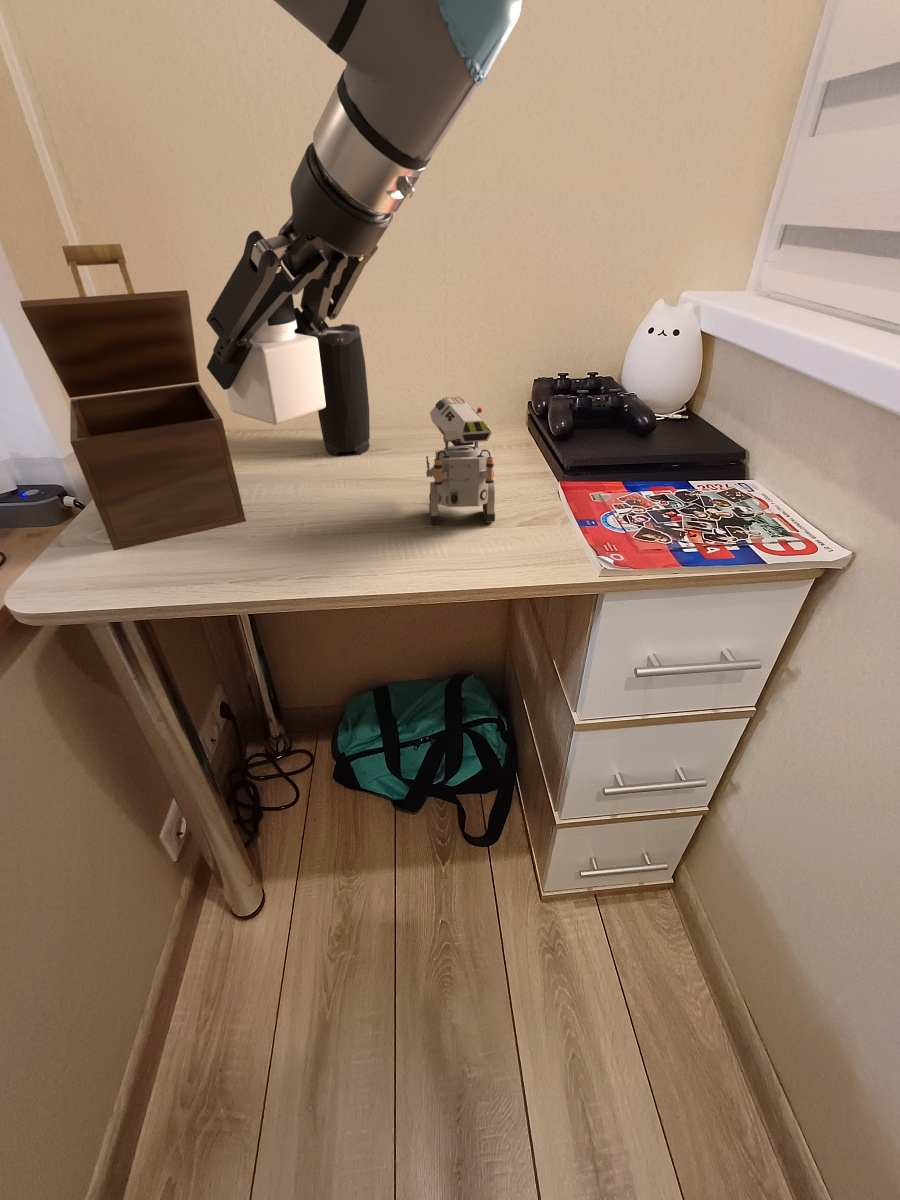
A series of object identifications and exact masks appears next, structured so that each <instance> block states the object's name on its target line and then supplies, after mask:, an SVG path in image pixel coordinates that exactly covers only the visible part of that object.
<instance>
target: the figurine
mask: <svg viewBox="0 0 900 1200" xmlns="http://www.w3.org/2000/svg"><path fill="white" fill-rule="evenodd" d="M476 411H477V412H476ZM476 411H475V409H473V408H472V407H471V406H470V405H469V404H468V403H467V402H466V401H465V400H464V399H463V398H462V397H461V396H446V397H443V398H442V399H440V400H438V401H437V402H436V403H435V405H434V408H432V409H431V410H430V412H429V415H430V419H431V421H432V423H433V424H434V426H435V427H436V428H437V430H438V431H439V432H440V433H441V435H442V436H443V437H442V439H443V444H444V448H443V449H440V450H435V458H434V459H433V460H434V461H433V465H432V467H431V464H430V462H429V456H428V455H426V457H425V459H426V469H427V470H426V472H425V473H426V474H425V475H426V477H427V478H432V479H434V480H433V481H431V482H429V503H428V507H429V508H428V509H429V522H430V524H431V525H438V524H440V512H439V505H441V506H444V507H448V508H453V507H454V508H462V507H481V506H482V510H483V515H484V518H485V521H486V523H494V522H496V513H495V503H496V501H495V500H496V490H495V487H496V486H495V480H494V477H495V470H494V467H495V463H494V462H495V461H494V457H492V456H491V452H490V450H488V449H481V448H480V447H479V443H482V442H488V441H489V439H490V437H491V436H492V431H491V430H490V427H489V426H488V425H487V424H486V423H485V421H484V420H483V419H482V418H481V416H479V414H480V413H482V412H483V408H482V407H478V408H477V410H476ZM449 443H451V444H452V445H449Z"/></svg>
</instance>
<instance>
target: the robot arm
mask: <svg viewBox="0 0 900 1200" xmlns="http://www.w3.org/2000/svg"><path fill="white" fill-rule="evenodd" d="M273 1H274V2H275V3H276V4H277V5H279V7H281V8H282V9H283V10H285V12H287V13H288V14H289V15H290V16H291V17H293V18H294V19H295V20H296V21H298V23H300V24H301V25H302V26H303V27H304V28H305V29H307V30H308V31H309V32H310V33H311V34H312V35H314V36H315V37H316V38H318V39H319V40H320V41H321V42H322V43H324V44H325V45H326V47H327V48H328V49H329V50H330V51H332V53H334V54H335V55H337V56H339V58H341V59H342V60H343V61H345V62H346V65H345V68H344V69H343V71H342V73H341V75H340V77H339V80H338V82H337V83H336V85H335V87H334V89H333V91H332V93H331V95H330V97H329V100H328V101H327V103H326V105H325V108H324V110H323V112H322V114H321V116H320V118H319V119H318V122H317V124H316V126H315V127H314V130H313V134H312V142H311V143H309V145H308V146H307V147H306V150H305V152H304V154H303V157H302V158H301V160H300V163H299V164H298V166H297V168H296V169H297V170H296V171H295V173H294V176H293V177H292V180H291V182H290V187H289V188H290V200H291V207H292V208H291V209H292V210H291V211H292V213H291V216H290V217H289V218H288V220H287V221H286V222H285V223H284V224H283V225H282V226H281V227H280V229H279V231H278V234H277V235H276V236H273V237H270V238H265V237H264V236H263V234H262V233H261V232H260V231H259V230H253V231H252V232H250V233H249V235H248V236H247V237H246V241H245V245H244V249H243V253H242V256H241V258H240V260H239V261H238V263H237V265H236V266H235V268H234V270H233V271H232V273H231V275H230V277H229V279H228V281H227V282H226V283H225V286H224V287H223V289H222V291H221V293H220V294H219V296H218V297H217V299H216V301H215V303H214V305H213V306H212V308H211V310H210V311H209V313H208V315H207V317H206V318H205V319H206V322H207V324H208V325H209V326H210V328H211V329H212V330H213V331H214V333H215V334H216V336H217V337H218V339H217V341H216V342H215V345H214V346H213V349H212V352H213V353H212V355H211V356H210V358H209V361H208V363H207V365H206V369H207V370H208V371H209V373H210V374H211V375H212V376H213V378H214V379H215V381H216V382H217V384H219V386H220V387H221V388H222V390H223V391H225V390H226V391H227V389H229V388H230V387H231V385H232V383H233V382H234V380H235V378H236V376H237V374H238V372H239V370H240V368H241V367H242V365H243V363H244V361H245V359H246V357H247V355H248V353H249V352H250V350H251V348H252V346H253V345H252V343H251V342H250V341H249V340H250V339H251V337H252V336H253V335H254V334H255V333H256V332H257V331H258V330H259V328H260V327H261V326H262V325H263V324H264V323H265V322H266V321H267V319H268V318H269V317H270V316H271V315H272V314H273V313H274V312H275V310H276V309H277V308H278V307H279V306H280V305H281V304H282V303H283V301H284V300H285V299H286V298H287V297H288V296H289V295H290V294H292V295H294V296H295V295H299V294H300V293H301V291H302V295H301V299H300V300H301V301H300V308H299V307H294V309H295V317H296V324H297V328H296V329H295V330H294V333H297V334H302V335H308V336H311V334H312V333H313V331H314V328H315V327H316V329H317V330H318V331H319V333H320V334H322V333H324V332H326V331H327V330H328V328H329V327H330V326H329V325H328V323H327V322H326V318H328V319H329V320H330V321H333V320H336V319H337V318H338V317H339V315H340V313H341V311H342V310H343V307H344V305H345V304H346V302H347V300H348V298H349V297H350V294H351V293H352V291H353V289H354V287H355V285H356V283H357V281H358V280H359V277H360V276H361V274H362V272H363V270H364V268H365V266H366V265H367V264H368V263H369V261H370V260H371V259H372V258H373V256H374V255H375V254H376V253H377V251H378V250H379V246H378V243H379V242H380V240H381V239H382V237H383V235H384V234H385V232H387V229H388V227H390V224H391V223H392V222H393V219H394V218H393V217H394V213H397V211H398V210H400V208H401V207H402V205H403V203H404V202H405V200H409V199H410V198H412V197H413V196H414V193H415V187H414V186H415V185H416V183H417V181H418V180H419V178H420V177H421V175H422V173H423V172H424V170H425V169H426V167H427V166H428V164H429V163H430V161H431V159H432V157H433V156H434V155H435V153H436V151H437V150H438V148H439V147H440V146H441V144H442V142H443V141H444V139H445V138H446V136H447V135H448V134H449V132H450V131H451V129H452V128H453V126H454V124H455V123H456V122H457V120H458V119H459V117H460V116H461V114H462V112H463V111H464V110H465V108H466V107H467V106H468V104H469V102H470V101H471V99H472V98H473V97H474V95H475V93H476V92H477V91H478V89H479V87H480V86H482V85H483V84H484V83H485V82H486V80H487V77H488V74H489V72H490V70H491V68H492V67H493V65H494V63H495V61H496V60H497V58H498V56H499V54H500V52H501V51H502V50H503V48H504V45H505V44H506V42H507V40H508V39H509V37H510V35H511V33H512V31H513V29H514V28H515V26H516V24H517V22H518V20H519V17H520V15H521V11H522V10H521V9H522V2H523V0H273ZM282 263H283V264H282ZM283 265H284V266H283ZM292 277H293V278H292ZM300 309H302V310H300Z"/></svg>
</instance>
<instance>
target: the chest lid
mask: <svg viewBox="0 0 900 1200" xmlns="http://www.w3.org/2000/svg"><path fill="white" fill-rule="evenodd" d="M61 248H62V252H63V255H64V258H65V260H66V263H67V266H68V267H69V268H70V269H69V270H70V272H71V276H72V278H73V282H74V284H75V288H76V291H77V295H78V296H76V297H61V298H45V299H44V298H43V299H30V300H29V299H27V300H19V304H20V308H21V310H22V311H23V313H24V315H25V317H26V319H27V321H28V322H29V325H30V326H31V328H32V330H33V332H34V334H35V335H36V338H37V339H38V342H39V344H40V345H41V348H42V349H43V351H44V352H45V354H46V356H47V359H48V360H49V362H50V364H51V366H52V368H53V369H54V371H55V373H56V375H57V377H58V379H59V381H60V383H61V384H62V387H63V388H64V390H65V392H66V394H67V396H68V398H69V399H76V398H84V397H92V396H100V395H108V394H116V393H124V392H132V391H140V390H148V389H156V388H164V387H172V386H180V385H188V384H196V383H200V376H199V369H198V360H197V352H196V343H195V335H194V326H193V319H192V311H191V309H192V308H191V302H190V295H189V292H188V290H187V289H184V290H183V289H181V290H169V291H168V290H167V291H166V290H165V291H154V292H153V291H151V292H138V293H135V290H134V287H133V283H132V280H131V277H130V273H129V270H128V268H127V261H126V258H125V254H124V249H123V246H122V244H121V243H104V244H103V243H101V244H77V245H76V244H75V245H73V244H71V245H62V246H61ZM107 265H118V267H119V271H120V273H121V277H122V279H123V282H124V286H125V289H126V292H127V293H122V294H121V293H120V294H107V295H105V294H104V295H90V296H89V295H88V296H87V293H86V290H85V287H84V284H83V281H82V277H81V275H80V271H79V269H78V267H84V266H87V267H88V266H107Z"/></svg>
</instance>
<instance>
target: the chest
mask: <svg viewBox="0 0 900 1200" xmlns="http://www.w3.org/2000/svg"><path fill="white" fill-rule="evenodd" d="M69 399H70V400H69V402H70V403H69V405H70V407H69V408H70V410H69V411H70V413H69V415H70V417H69V421H70V422H69V423H70V426H69V427H70V428H69V431H70V432H69V433H70V435H69V436H70V438H69V439H70V441H69V442H70V445H71V447H72V450H73V453H74V454H75V457H76V459H77V462H78V465H79V467H80V470H81V472H82V475H83V477H84V479H85V483H86V485H87V488H88V489H89V492H90V494H91V497H92V499H93V502H94V504H95V507H96V510H97V513H98V514H99V517H100V519H101V522H102V525H103V527H104V529H105V532H106V534H107V536H108V540H109V542H110V544H111V546H112V550H114V551H116V550H120V549H124V548H130V547H135V546H138V545H139V546H140V545H144V544H148V543H152V542H156V541H161V540H165V539H169V538H175V537H179V536H184V535H188V534H192V533H197V532H202V531H206V530H210V529H215V528H221V527H225V526H229V525H234V524H238V523H239V524H240V523H243V522H246V521H247V520H246V517H245V511H244V506H243V504H242V499H241V498H242V497H241V493H240V490H239V486H238V481H237V476H236V473H235V468H234V463H233V460H232V455H231V451H230V447H229V442H228V438H227V435H226V430H225V426H224V421H223V417H221V415H220V413H219V412H218V410H217V409H216V407H215V406H214V404H213V402H212V401H211V399H210V398H209V396H208V394H207V393H206V391H205V390H204V388H203V387H202V385H201V383H200V382H195V383H187V384H179V385H171V386H163V387H155V388H147V389H139V390H131V391H123V392H115V393H107V394H99V395H91V396H83V397H75V398H69Z"/></svg>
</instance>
